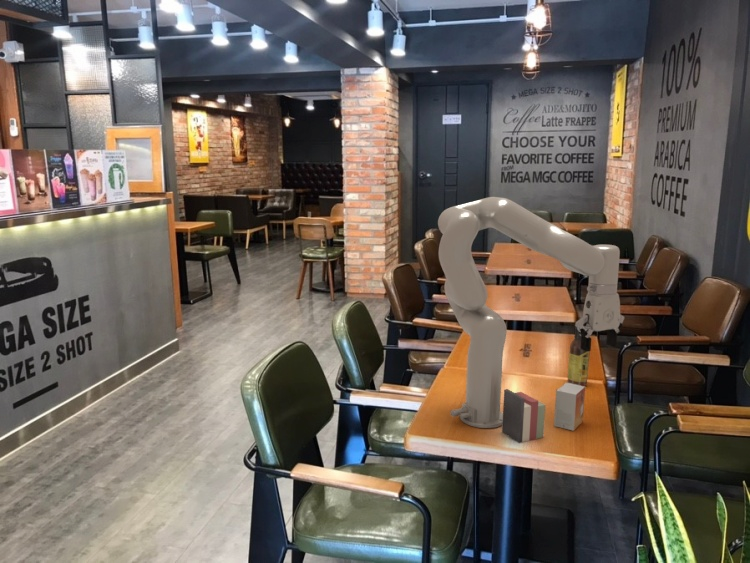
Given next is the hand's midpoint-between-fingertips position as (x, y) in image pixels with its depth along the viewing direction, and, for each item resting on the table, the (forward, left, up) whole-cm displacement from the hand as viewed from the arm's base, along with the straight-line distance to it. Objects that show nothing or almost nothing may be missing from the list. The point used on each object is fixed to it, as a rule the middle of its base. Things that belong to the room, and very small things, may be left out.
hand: (598, 347), depth 166 cm
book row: (-29, -3, -19) cm, 35 cm away
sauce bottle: (+12, +19, -20) cm, 30 cm away
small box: (-13, -3, -20) cm, 24 cm away
